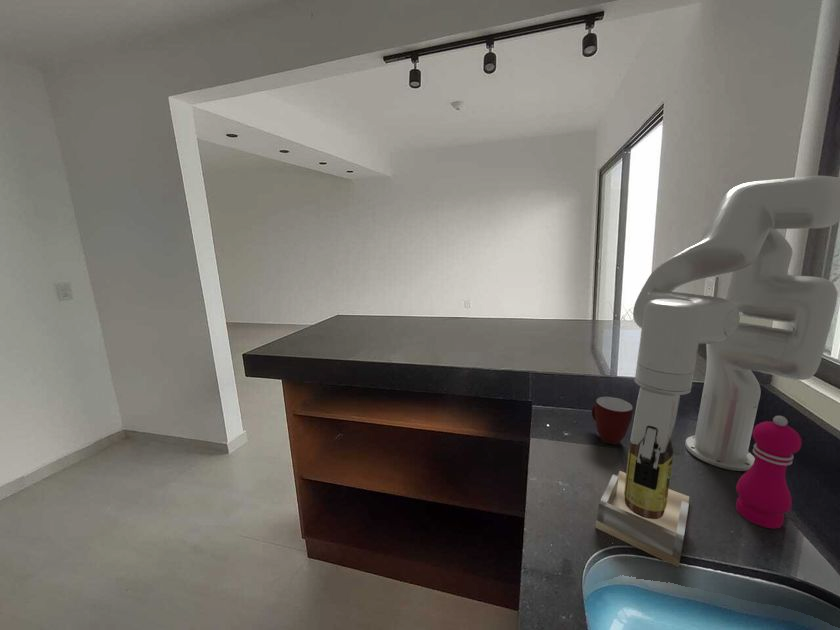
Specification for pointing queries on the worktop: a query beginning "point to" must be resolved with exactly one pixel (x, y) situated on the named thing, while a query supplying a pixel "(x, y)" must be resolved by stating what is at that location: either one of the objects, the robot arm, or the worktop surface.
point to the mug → (612, 418)
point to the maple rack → (644, 522)
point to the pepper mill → (768, 474)
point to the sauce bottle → (642, 497)
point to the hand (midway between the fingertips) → (648, 473)
